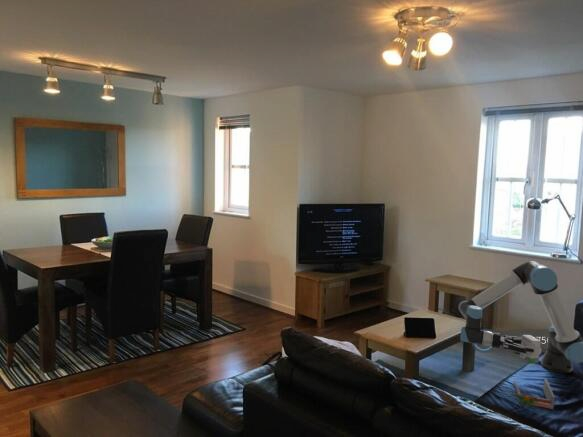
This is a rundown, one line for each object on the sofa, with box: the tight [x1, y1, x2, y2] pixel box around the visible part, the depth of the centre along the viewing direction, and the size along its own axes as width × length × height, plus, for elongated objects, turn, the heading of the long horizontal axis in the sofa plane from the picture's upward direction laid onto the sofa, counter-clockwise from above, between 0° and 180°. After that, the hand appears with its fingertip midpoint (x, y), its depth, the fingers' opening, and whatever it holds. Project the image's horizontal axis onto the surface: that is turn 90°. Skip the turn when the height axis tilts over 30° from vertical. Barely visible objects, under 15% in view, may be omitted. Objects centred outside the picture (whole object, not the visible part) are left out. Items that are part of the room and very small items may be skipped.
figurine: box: [509, 389, 538, 411], centre depth 216 cm, size 3×12×8 cm, turn 61°
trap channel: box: [513, 378, 556, 410], centre depth 227 cm, size 14×19×6 cm
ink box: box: [519, 334, 542, 364], centre depth 241 cm, size 8×5×12 cm, turn 10°
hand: (540, 347), depth 239 cm, fingers closed on ink box, 9 cm apart
